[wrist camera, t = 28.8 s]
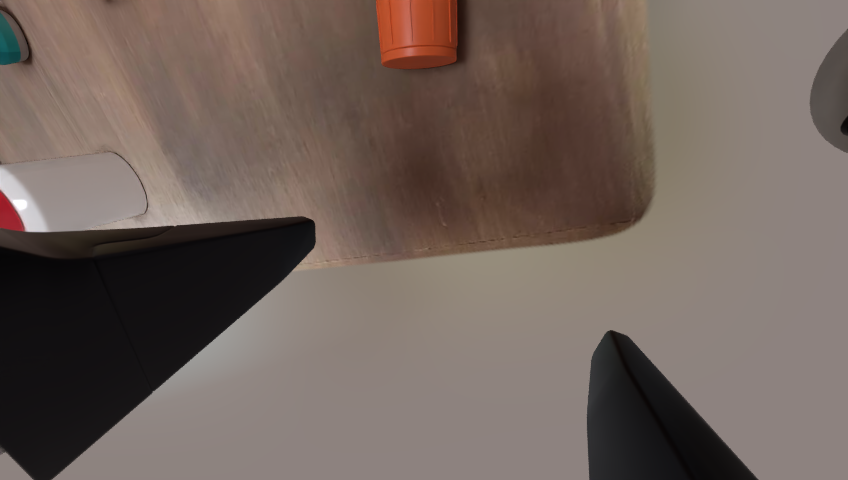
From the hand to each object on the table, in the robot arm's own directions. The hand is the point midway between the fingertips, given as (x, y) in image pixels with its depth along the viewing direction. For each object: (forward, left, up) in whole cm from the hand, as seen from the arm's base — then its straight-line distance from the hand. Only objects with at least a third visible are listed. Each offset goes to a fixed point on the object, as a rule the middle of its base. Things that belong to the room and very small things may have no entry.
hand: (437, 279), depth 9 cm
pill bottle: (+44, +11, -12) cm, 47 cm away
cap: (+7, -9, -10) cm, 15 cm away
